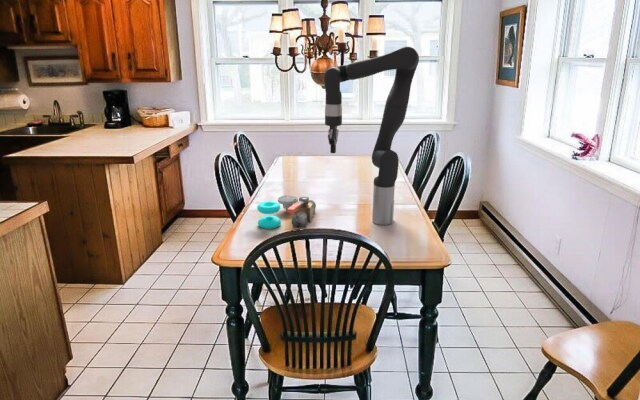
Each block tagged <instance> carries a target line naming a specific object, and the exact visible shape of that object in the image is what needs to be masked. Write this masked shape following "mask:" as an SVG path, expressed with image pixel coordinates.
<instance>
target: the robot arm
mask: <svg viewBox="0 0 640 400" xmlns="http://www.w3.org/2000/svg"><path fill="white" fill-rule="evenodd" d="M419 61H420V56H419V53H418V51H416V49H415V48H414V47H412V46H406V45H405V46H402V47H401V48H398V49H397V50H394V51H392V52H389V53H385V54H383V55H380V56H376V57H371V58H367V59H362V60H358V61H354V62H350V63H348V64H344V65H338V66H333V67H329V68H327V69H326V70H325V72H324V76H323V83H324V90H325V106H324V125H325V126H326V127H327V126H329V129H327V133H328V134H327V138H328V139H327V140H328V144H329V145H330V153H331V154H336V153H337V142H338V138H339V128H338V127H340V126H342V124H343V105H342V101H343V100H342V99H343V96H342V91H341V83H343V82H346V81H353V80H355V81H356V80H360V79H362V78H363V79H364V78H366V77H370V76H373V75H376V74H379V73H382V72H386V71H392V70H395V76H394V79H393V84H392V86H391V88H390V90H389V93H388V95H387V97H386V101H385V105H384V109H383V113H382V119H381V123H380V127H379V130H378V131H379V132H378V135H377V139H376V141H375V144H374V147H373V150H372V154H371V163H372V165H373V166H374V167H376V168H378V176H375V177H374V179H373V188H372V189H373V193H372V214H371V215H372V217H371V218H372V220H371V221H372V223H374V224H376V225H381V226H386V225H387V226H388V225H393V223H394V211H395V187H396V181H397V179H398V173H399V163H400V162H399V161H400V160H399V155H398V153H397V152H396V151H394V150H393V149H392V145H393V141H394V138H395V136H396V133H397V132H398V130H399V129H400V128H401V127H402V125H403V123H404V121H405V119H406V115H407V110H408V106H409V101H410V93H411V86H412V82H413V79H414V76H415V74H416V70H417V67H418V65H419Z"/></svg>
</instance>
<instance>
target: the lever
mask: <svg viewBox="0 0 640 400" xmlns="http://www.w3.org/2000/svg"><path fill="white" fill-rule="evenodd" d="M309 200H310V197H308V196H300V197H299V198H298V202H297V203H294V204H293V205H292V206H291V207H289V208H288V209H287V210H288V212H287V214H292V215H293V214H294V215H295V212H296V211H297V210H298V209H300V208H301V206H302V205H305V204H309Z"/></svg>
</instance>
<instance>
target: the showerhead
mask: <svg viewBox="0 0 640 400" xmlns="http://www.w3.org/2000/svg"><path fill="white" fill-rule="evenodd" d="M298 202H299V198H298V197H297V196H295V195H292V194H291V195H287V194H286V195H280V196H278V198H277V203H279V204H280V205H282V207H283V209H285V212H286V213H288V210H287V209H288V208H289V207H291V206H292V205H293V204H295V203H298Z"/></svg>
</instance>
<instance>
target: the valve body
mask: <svg viewBox="0 0 640 400" xmlns="http://www.w3.org/2000/svg"><path fill="white" fill-rule="evenodd" d="M316 207H317V205H316V202H315V201H314V200H312V199H309V204H305V205H302V206H301V208H300V209H298V210H297V211H296V212H295V213H294V215H293V217H292V218H291V225H292V227H294V228H295V229H301V228H307V227H308V223H309V224H311V222H312V220H313V219H314V217H315V214H316Z"/></svg>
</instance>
